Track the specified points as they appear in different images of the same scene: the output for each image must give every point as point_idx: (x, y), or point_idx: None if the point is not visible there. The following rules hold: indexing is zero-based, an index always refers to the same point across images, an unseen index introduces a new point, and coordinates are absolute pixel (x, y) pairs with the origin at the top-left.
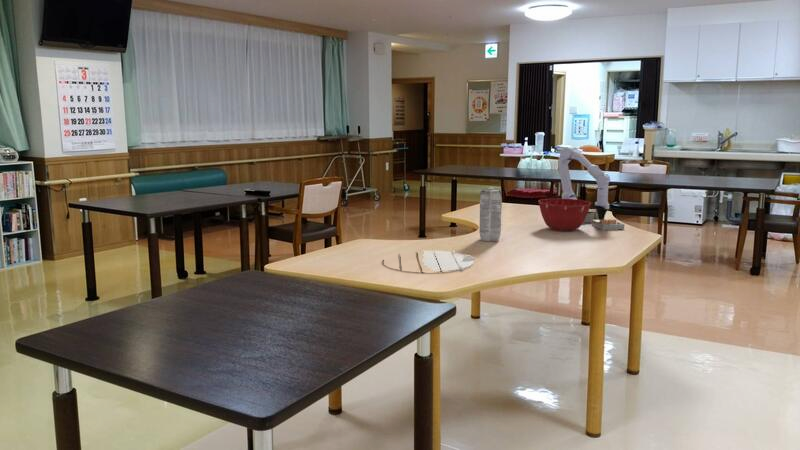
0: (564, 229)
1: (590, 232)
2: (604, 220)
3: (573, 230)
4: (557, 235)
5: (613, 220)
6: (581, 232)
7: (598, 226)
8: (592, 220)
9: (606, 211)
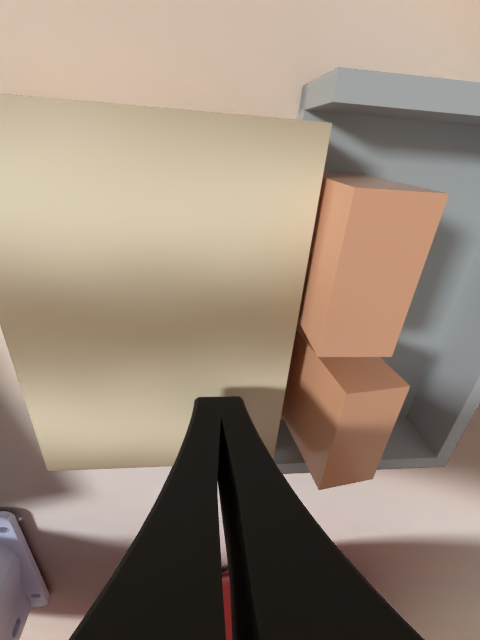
0: None
1: (449, 514)
2: (385, 443)
3: None
4: (425, 635)
5: (414, 268)
6: (417, 553)
7: None
8: (82, 465)
9: (370, 585)
